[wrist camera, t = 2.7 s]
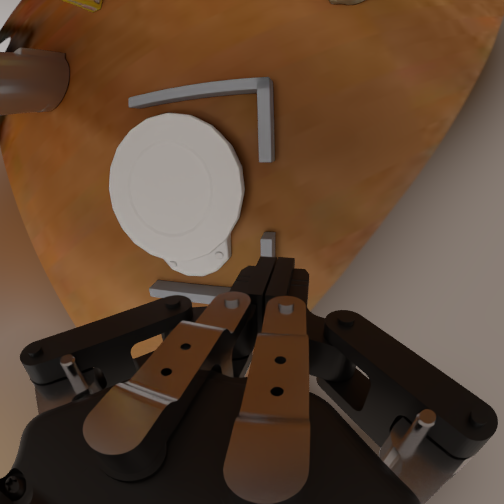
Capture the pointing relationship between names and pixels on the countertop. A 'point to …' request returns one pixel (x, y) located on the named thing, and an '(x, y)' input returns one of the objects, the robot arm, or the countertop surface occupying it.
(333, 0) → the chocolate bunny
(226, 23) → the countertop surface
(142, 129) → the lid
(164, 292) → the lid holder
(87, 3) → the candy box
